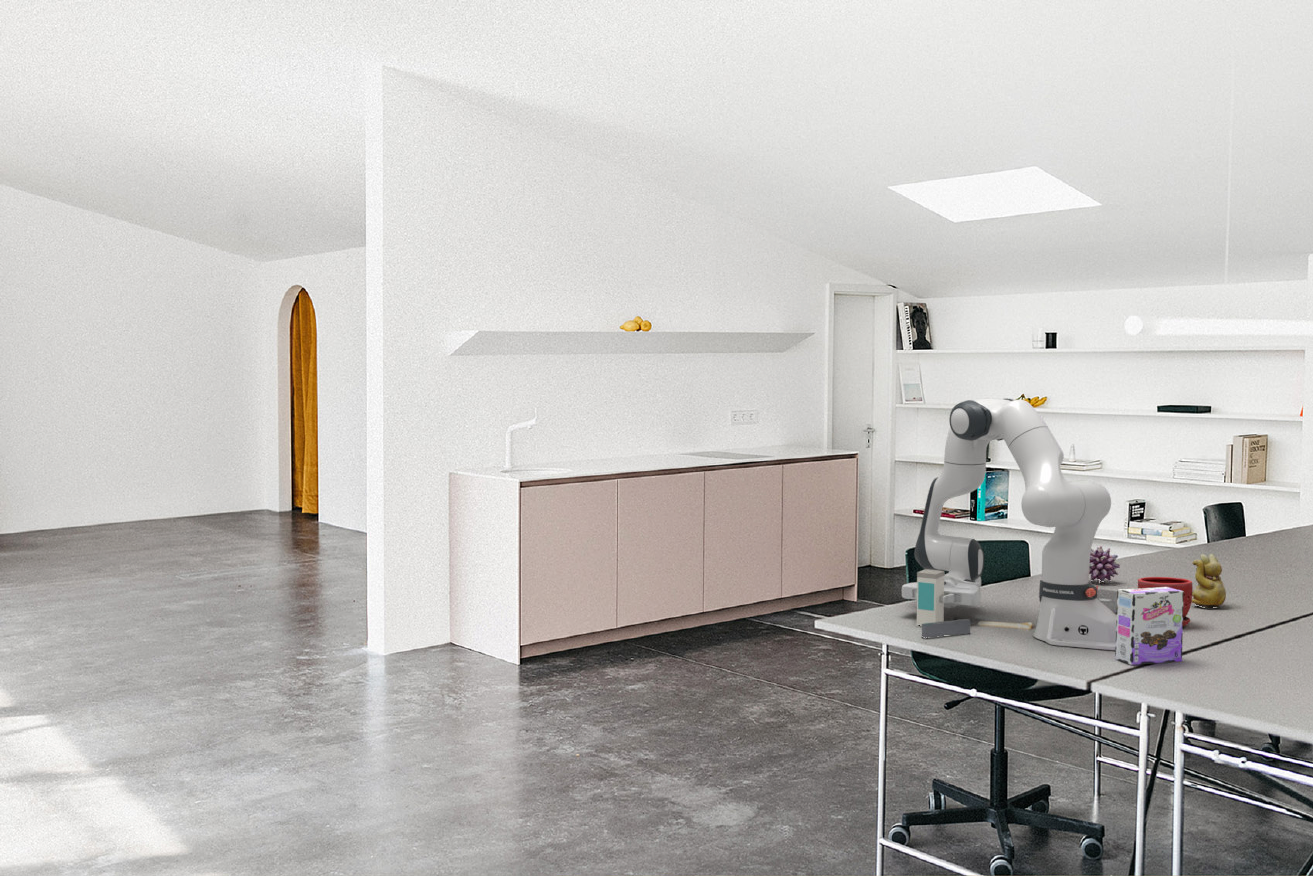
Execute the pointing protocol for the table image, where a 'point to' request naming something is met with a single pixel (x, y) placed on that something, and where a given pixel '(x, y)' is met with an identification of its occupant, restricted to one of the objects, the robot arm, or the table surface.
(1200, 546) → the table surface
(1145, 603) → the candy box
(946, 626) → the rail
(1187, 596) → the plant pot
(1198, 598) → the decorative figurine
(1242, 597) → the table surface
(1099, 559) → the purple spiky ball
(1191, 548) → the table surface
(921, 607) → the carton
